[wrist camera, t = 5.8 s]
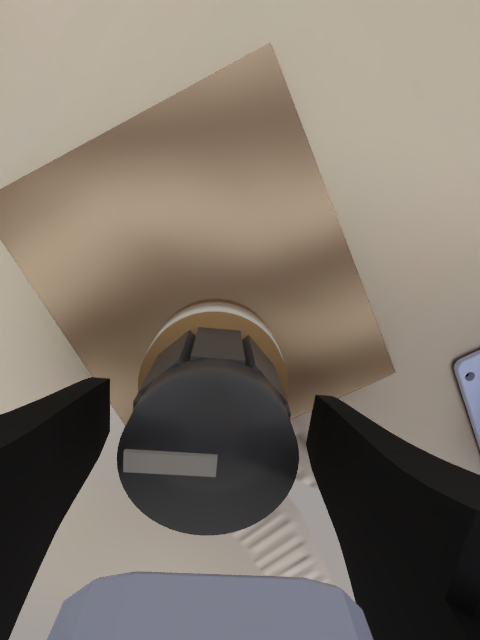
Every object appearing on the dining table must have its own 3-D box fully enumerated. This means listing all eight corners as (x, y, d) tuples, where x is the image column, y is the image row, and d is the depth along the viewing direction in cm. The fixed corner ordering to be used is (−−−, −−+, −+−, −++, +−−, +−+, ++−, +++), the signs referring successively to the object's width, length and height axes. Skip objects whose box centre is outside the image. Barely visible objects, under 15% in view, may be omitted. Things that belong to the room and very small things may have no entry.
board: (390, 368, 18) (395, 372, 17) (161, 471, 19) (160, 477, 18) (269, 49, 14) (270, 42, 13) (-17, 203, 15) (-25, 202, 14)
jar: (294, 381, 17) (321, 437, 12) (190, 428, 17) (178, 500, 13) (244, 275, 15) (253, 294, 11) (131, 331, 16) (93, 372, 11)
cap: (281, 334, 13) (313, 390, 8) (266, 442, 14) (286, 542, 9) (155, 323, 12) (116, 375, 8) (150, 434, 13) (114, 536, 9)
